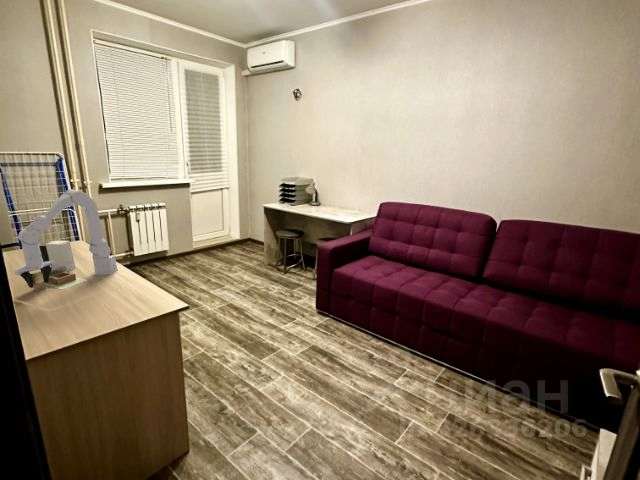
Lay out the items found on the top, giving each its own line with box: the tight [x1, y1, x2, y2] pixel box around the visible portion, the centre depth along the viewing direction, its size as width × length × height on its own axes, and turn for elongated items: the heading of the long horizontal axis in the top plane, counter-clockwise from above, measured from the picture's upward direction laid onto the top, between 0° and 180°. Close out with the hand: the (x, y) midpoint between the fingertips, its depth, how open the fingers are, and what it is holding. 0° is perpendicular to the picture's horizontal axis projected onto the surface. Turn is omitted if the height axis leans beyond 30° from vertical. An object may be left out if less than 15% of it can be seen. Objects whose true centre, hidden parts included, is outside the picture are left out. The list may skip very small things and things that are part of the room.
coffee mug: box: [38, 240, 54, 262], centre depth 186 cm, size 12×9×10 cm
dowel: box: [30, 271, 46, 291], centre depth 152 cm, size 4×4×8 cm
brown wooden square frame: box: [48, 271, 77, 286], centre depth 161 cm, size 8×8×3 cm
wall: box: [44, 266, 67, 283], centre depth 162 cm, size 2×10×5 cm, turn 158°
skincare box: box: [46, 239, 76, 272], centre depth 173 cm, size 8×7×16 cm
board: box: [45, 276, 88, 290], centre depth 161 cm, size 15×12×1 cm
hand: (38, 284), depth 152 cm, fingers open, 5 cm apart
